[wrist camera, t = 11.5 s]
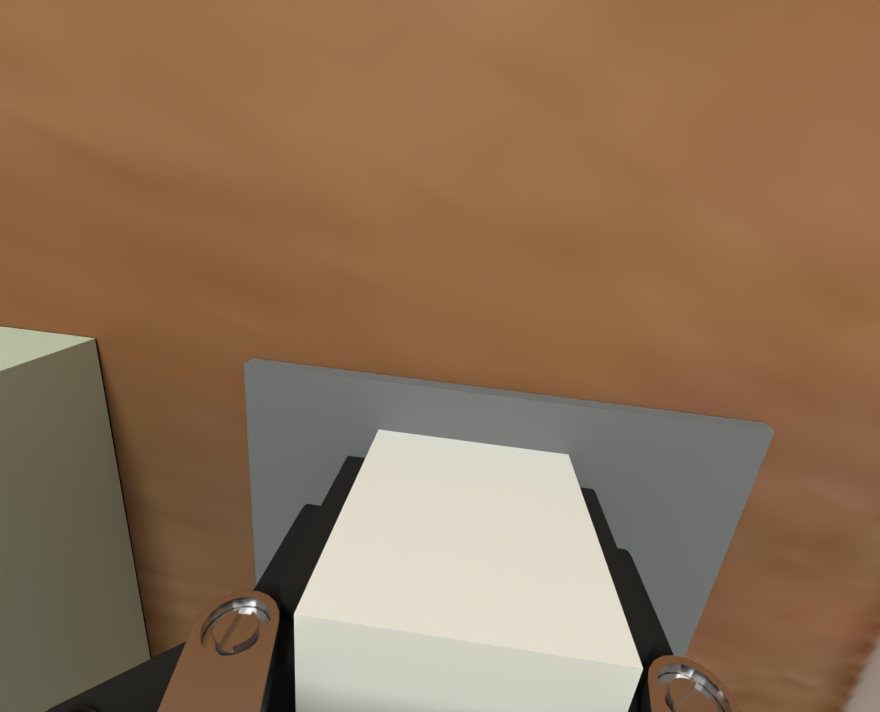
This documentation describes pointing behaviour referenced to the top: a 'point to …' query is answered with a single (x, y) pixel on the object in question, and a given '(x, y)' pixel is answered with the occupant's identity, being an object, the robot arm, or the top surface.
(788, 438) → the top surface
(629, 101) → the top surface
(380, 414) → the mat
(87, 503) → the bin
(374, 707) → the white stacked cube
